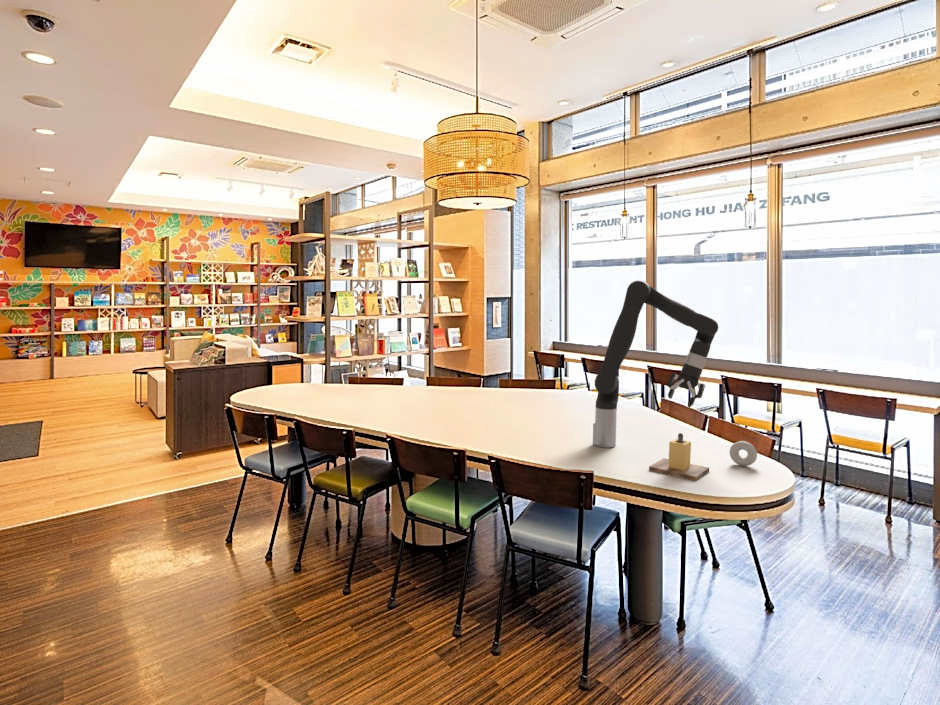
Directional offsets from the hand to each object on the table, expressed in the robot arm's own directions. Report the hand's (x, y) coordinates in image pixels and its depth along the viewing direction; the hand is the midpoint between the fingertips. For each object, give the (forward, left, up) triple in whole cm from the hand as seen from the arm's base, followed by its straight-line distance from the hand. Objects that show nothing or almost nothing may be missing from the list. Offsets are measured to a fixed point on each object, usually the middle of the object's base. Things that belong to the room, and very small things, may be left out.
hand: (679, 402), depth 231 cm
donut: (+24, +6, -24) cm, 34 cm away
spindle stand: (+7, -17, -23) cm, 30 cm away
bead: (+7, -17, -22) cm, 29 cm away
